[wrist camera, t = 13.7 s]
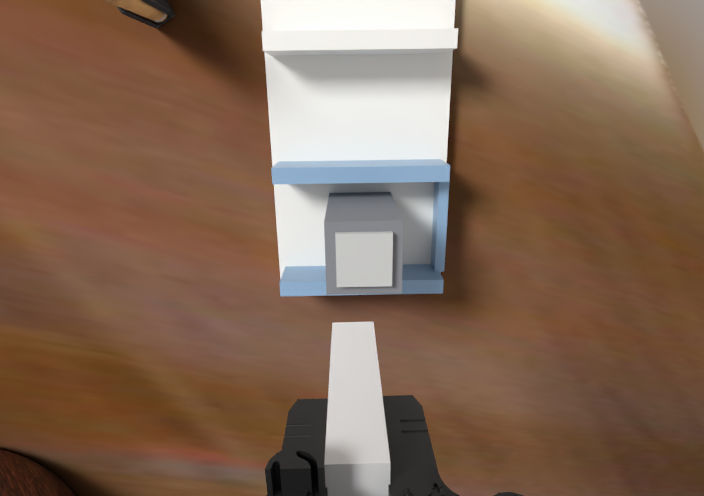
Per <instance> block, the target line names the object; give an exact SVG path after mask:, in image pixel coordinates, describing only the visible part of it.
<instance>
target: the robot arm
mask: <svg viewBox="0 0 704 496" xmlns="http://www.w3.org/2000/svg"><path fill="white" fill-rule="evenodd" d="M265 474H266V483H267V492H268V494H267V495H266V496H459V495H457V494H456V493H454V492H452V491H451V490H450V489H449V488H448V487H447V486H446V485H445V484H444V483H443V481H442V480H441V478H440V475H439V473H438V469H437V465H436V461H435V457H434V453H433V449H432V445H431V441H430V437H429V433H428V429H427V424H426V422H425V416H424V412H423V408H422V406H421V405H420V403H419V402H418V401H417V400H416V399H415V398H414V396H413V395H405V396H382V389H381V381H380V372H379V364H378V356H377V348H376V339H375V331H374V323H373V322H341V323H332V340H331V357H330V374H329V392H328V399H298V400H297V401H296V402H295V404H294V405H293V406H292V408H291V409H290V410H289V413H288V419H287V424H286V430H285V437H284V441H283V446H282V451H280V452H278V453H276V454H275V455H274V456H273V457H272V458H271V459H270V460H269V462H268V464H267V466H266V468H265ZM494 496H523V495H520V494H516V493H512V492H504V493H498V494H496V495H494Z"/></svg>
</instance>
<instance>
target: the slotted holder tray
mask: <svg viewBox="0 0 704 496" xmlns="http://www.w3.org/2000/svg"><path fill="white" fill-rule="evenodd" d="M455 1H456V0H261V10H262V24H263V31H262V43H263V51H264V52H265V66H266V80H267V95H268V109H269V123H270V137H271V151H272V165H273V167H272V168H271V169H272V183H273V184H274V194H275V208H276V222H277V236H278V250H279V265H280V279H281V280H280V295H281V296H324V295H327V293H326V264H325V235H324V219H325V214H326V208H327V203H328V197H329V193H350V192H391V195H392V197H393V199H394V201H395V203H396V205H397V207H398V209H399V212H400V214H401V216H402V218H403V220H404V228H403V268H402V293H394V294H441V293H443V283H444V279H443V277H442V276H441V272H444V267H445V250H446V232H447V215H448V198H449V181H450V165H449V164H447V146H448V128H449V110H450V92H451V74H452V56H453V50H454V49H456V48H457V41H458V28H454V19H455ZM336 295H382V294H336Z"/></svg>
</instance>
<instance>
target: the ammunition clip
mask: <svg viewBox="0 0 704 496" xmlns="http://www.w3.org/2000/svg"><path fill="white" fill-rule="evenodd" d="M104 1H106V2H109V3H111V4H113V5H116V6H117V7H118V9H119V10H120V12H121V13H122V14H124V15H126V16H129V17H131V18H133V19H136V20H138V21H140V22H142V23H145V24H147V25H149V26H152V27H154V28H156V29H157V28H158V27H160V26H161V25H163V24H164V23H165V22H167V21H168V20H170V19H171V18H172V17H174V16H175V14H174V11H173V10H172V8H171V7H170V5H169V4H168V2H167V1H166V0H104Z"/></svg>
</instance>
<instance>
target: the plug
mask: <svg viewBox="0 0 704 496" xmlns="http://www.w3.org/2000/svg"><path fill="white" fill-rule="evenodd" d="M403 228H404V220H403V218H402V216H401V214H400V212H399V209H398V207H397V205H396V203H395V201H394V199H393V197H392V195H391V192H350V193H329V197H328V203H327V208H326V214H325V219H324V235H325V264H326V293H327V295H336V294H394V293H402V268H403Z"/></svg>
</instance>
